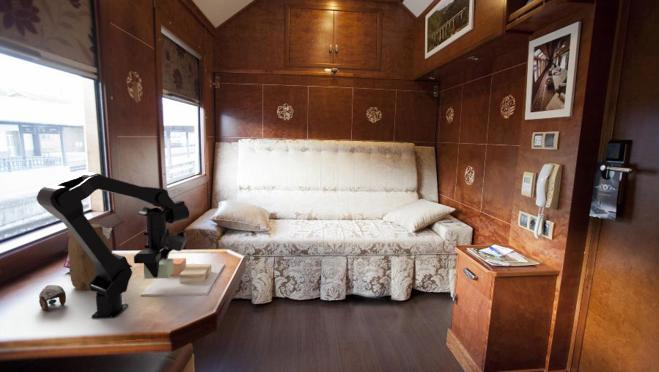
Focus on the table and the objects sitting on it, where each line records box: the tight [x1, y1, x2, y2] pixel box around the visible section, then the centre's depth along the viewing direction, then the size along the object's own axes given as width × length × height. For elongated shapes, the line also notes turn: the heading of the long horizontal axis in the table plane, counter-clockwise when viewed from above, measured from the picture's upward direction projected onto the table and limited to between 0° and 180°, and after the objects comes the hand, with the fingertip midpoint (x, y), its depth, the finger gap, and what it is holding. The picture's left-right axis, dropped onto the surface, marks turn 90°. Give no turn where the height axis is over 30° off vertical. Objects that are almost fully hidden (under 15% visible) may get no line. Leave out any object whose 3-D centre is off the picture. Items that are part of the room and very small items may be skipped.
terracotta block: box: [168, 257, 187, 276], centre depth 116 cm, size 5×7×4 cm
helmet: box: [38, 284, 67, 312], centre depth 91 cm, size 6×8×7 cm
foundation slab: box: [179, 263, 212, 283], centre depth 113 cm, size 9×8×3 cm
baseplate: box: [140, 263, 225, 297], centre depth 113 cm, size 24×20×1 cm
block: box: [67, 223, 113, 291], centre depth 105 cm, size 11×8×20 cm
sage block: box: [143, 259, 174, 280], centre depth 103 cm, size 5×7×4 cm
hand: (159, 273), depth 103 cm, fingers closed on sage block, 5 cm apart
